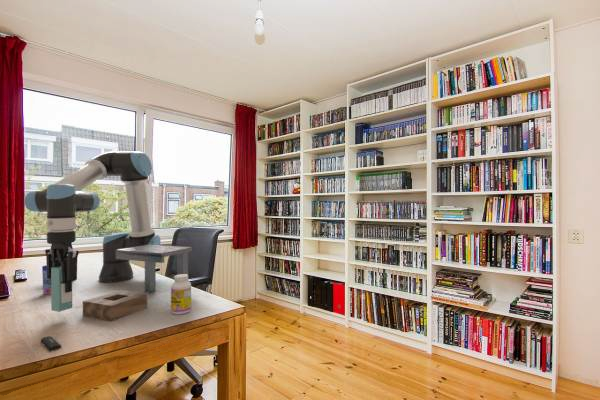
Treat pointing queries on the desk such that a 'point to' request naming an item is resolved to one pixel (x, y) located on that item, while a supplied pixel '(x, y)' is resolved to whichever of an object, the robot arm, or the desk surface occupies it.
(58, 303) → the peg
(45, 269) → the ink cartridge box
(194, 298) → the desk surface
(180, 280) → the supplement bottle
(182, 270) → the grey step stool
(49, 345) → the usb stick
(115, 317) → the socket block
